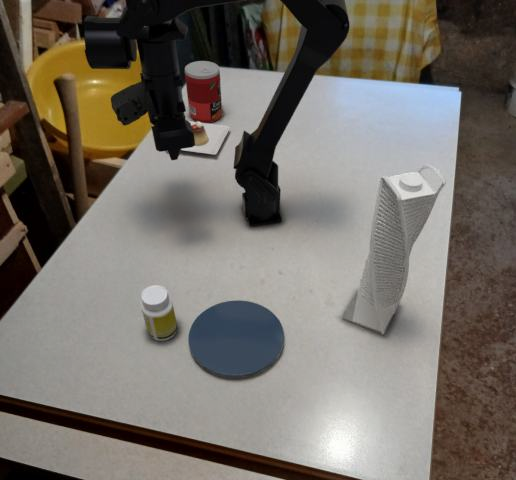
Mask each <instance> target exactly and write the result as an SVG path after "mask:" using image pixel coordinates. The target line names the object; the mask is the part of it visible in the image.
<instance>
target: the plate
mask: <svg viewBox="0 0 516 480" xmlns="http://www.w3.org/2000/svg"><path fill="white" fill-rule="evenodd" d="M187 341H188V347H189V351H190V353H191V355H192V357H193V359H194V360H195V362H197V364H198V365H199V366H200V367H201V368H203V369H204V370H206V371H207V372H209V373H211V374H214V375H217V376H219V377H224V378H232V379H235V378H236V379H237V378H239V379H240V378H246V377H251V376H254V375H257V374H259V373H261V372H263V371H265V370H266V369H268V368H270V367H271V366H272V365H273V364H274V363H275V362H276V361H277V360H278V358H279V357H280V355H281V353H282V351H283V349H284V344H285V331H284V328H283V325H282V323H281V321H280V319H279V318H278V317H277V316H276V314H275V313H274V312H272V310H270V309H269V308H267V307H265V306H264V305H261V304H259V303H258V302H257V303H256V302H254V301H253V302H252V301H248V300H238V299H237V300H227V301H222V302H218V303H216V304H214V305H212V306H210V307H208V308H206V309H205V310H203V311H202V312H201V313H200V314H199V315H197V316H196V318H195V319H194V321H193V322H192V324H191V326H190V328H189V332H188V340H187Z"/></svg>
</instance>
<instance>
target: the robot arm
mask: <svg viewBox="0 0 516 480" xmlns="http://www.w3.org/2000/svg"><path fill="white" fill-rule="evenodd" d="M246 1H248V0H125V5H126V6H125V7H124V9H123V11H122V12H121V15H120V17H101V16H96V15H86V17H85V18H84V20H83V22H82V24H83V28H84V47H85V48H84V55H85V59H86V61H87V65H88V66H89V67H90V68H91V70H130V69H131V67H132V63H135V62H137V58H139V62H140V69H141V72H140V73H139V75H140V81H139V82H136V83H133V84H131V85H128V86H127V87H125V88H123V89H121V90H118V91H117V92H116V93H113V95H111V96H110V105H111V109H112V111H113V112H114V113H115V115H116V120H117V122H120V123H121V125H122V126H126V127H127V126H129V125H131V124H132V123H135V122H136V121H138V120H140V119H141V117H143V116H145V115H146V114H147V115H148V119H149V123H150V124H151V126H150V127H151V132H152V138H153V142H154V146H155V150H156V151H157V152H161V153H162V152H167V153H168V155H169V158H170V160H171V161H177V160H178V159H179V156H180V153H181V151H182V150H181V149H183V148H190V147H193V146H194V145H195V138H194V132H193V129H192V126H191V123H190V122H188V121H189V120H187V119H186V115H185V113H186V105H185V101H184V99H183V98H184V97H183V90H182V89H183V88H182V87H183V86H184V85H183V79H182V75H181V73H180V66H179V56H178V49H177V41H185V40H186V38H187V34H188V30H189V27H188V26H187V24H185V23H184V22H183V21H181V20H180V19H179V17H180V16H182V15H184V14H185V13H187V12H189V11H192V10H195V9H199V8H205V7H206V8H207V7H212V6H219V5H225V4H226V5H227V4H233V3H234V4H235V3H240V2H241V3H242V2H246ZM279 1H280V2H281V3H282V4H283V5H284V6H285V7H286V8H287V10H288V11H289V12H290V13H291V14H292V15H293V17H294V18H295V19H296V20H297V22H298V23H299V24H300V30H299V33H298V39H297V43H296V47H295V50H294V53H293V55H292V57H291V59H290V60H289V63H288V65H287V67H286V69H285V71H284V73H283V75H282V77H281V79H280V82H279V83H278V84H277V88H276V90H275V92H274V94H273V95H272V97H271V100H270V102H269V104H268V106H267V108H266V110H265V112H264V114H263V116H262V118H261V120H260V123H259V124H258V127H257V128H256V129H254V131H253V132H251V133H249V132H247V131H246V130H243V132H242V134H241V135H242V136H241V139H240V142H239V143H238V144H237V145H236V146H235V149H234V157H233V169H234V171H235V172H234V179H235V182H236V184H237V185H239V187H241V188H243V190H244V192H242V193H241V199H242V200H241V202H242V212H243V215H244V218H245V219H247V223H248V225H249V227H255V226H262V225H269V224H277V223H282V222H283V218H282V216H281V191H282V189H281V187H280V185H279V164H277V163H276V161H274V156H275V152H276V149H277V146H278V144H279V142H280V140H281V138H282V137H283V134H284V133H285V131H286V129H287V127H288V125H289V123H290V121H291V120H292V118H293V116H294V114H295V113H296V111H297V109H298V108H299V107H298V106H299V105H300V103H301V101H302V100H303V97H304V96H305V94H306V92H307V90H308V89H309V87H310V84H311V82H312V81H313V79H314V78H315V75H316V73H317V72H318V71H319V70H320V69H321V67H323V66H324V65H325V64H327V63H328V61H330V60H331V59H332V58H333V56H334V55H335V54H336V53H337V51H338V50H339V49H340V48H341V46H342V45H343V43H344V42H345V41H346V39H347V37H348V35H349V32H350V27H351V26H350V19H349V15H348V10H347V5H346V0H279Z"/></svg>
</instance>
